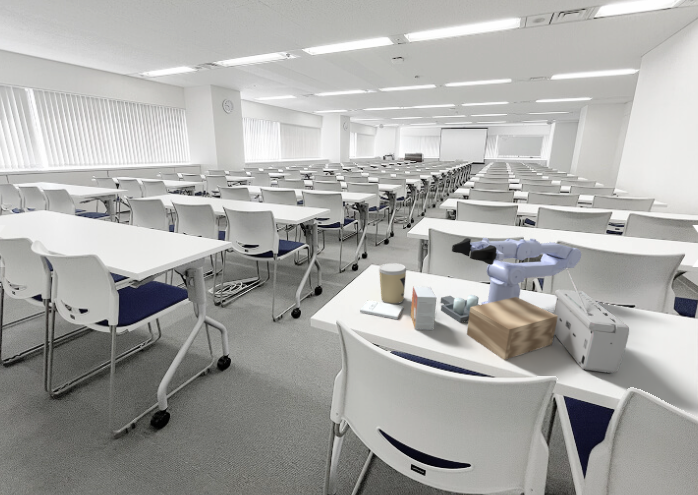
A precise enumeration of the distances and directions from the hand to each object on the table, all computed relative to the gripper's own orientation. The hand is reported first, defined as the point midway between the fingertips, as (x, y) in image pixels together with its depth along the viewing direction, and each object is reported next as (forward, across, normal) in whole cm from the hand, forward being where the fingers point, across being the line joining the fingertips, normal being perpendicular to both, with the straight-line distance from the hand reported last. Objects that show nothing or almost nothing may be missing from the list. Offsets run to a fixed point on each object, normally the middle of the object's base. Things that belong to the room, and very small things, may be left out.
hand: (461, 251), depth 98 cm
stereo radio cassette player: (-20, +27, +21) cm, 39 cm away
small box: (+10, -1, +23) cm, 25 cm away
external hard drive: (+17, -13, +24) cm, 32 cm away
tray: (-7, -4, +21) cm, 23 cm away
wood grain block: (-7, +16, +21) cm, 27 cm away
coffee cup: (+10, -19, +22) cm, 31 cm away
